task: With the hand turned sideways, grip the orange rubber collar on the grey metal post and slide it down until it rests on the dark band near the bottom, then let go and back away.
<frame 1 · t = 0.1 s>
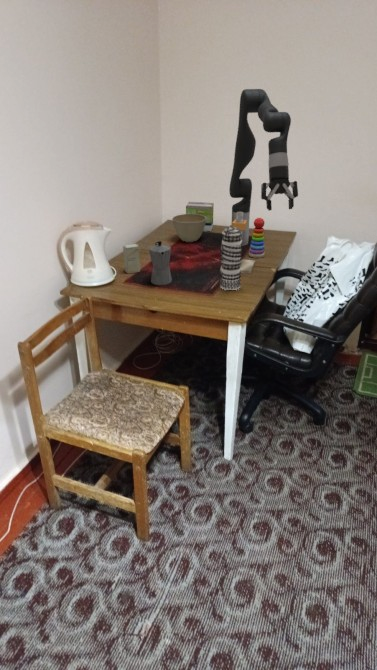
hand: (280, 209, 179), 31 cm above the table, tool tilted 20°, fingers open, 8 cm apart
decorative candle: (230, 287, 192), on the table
tea box: (199, 229, 269), on the table
skincare box: (132, 271, 210), on the table
coffeepot: (161, 280, 200), on the table
collar: (239, 224, 203), point 20 cm above the table, slide at 0.0 cm
beige bowl: (189, 240, 250), on the table
post stand: (237, 267, 212), on the table
stacking toy: (256, 256, 226), on the table
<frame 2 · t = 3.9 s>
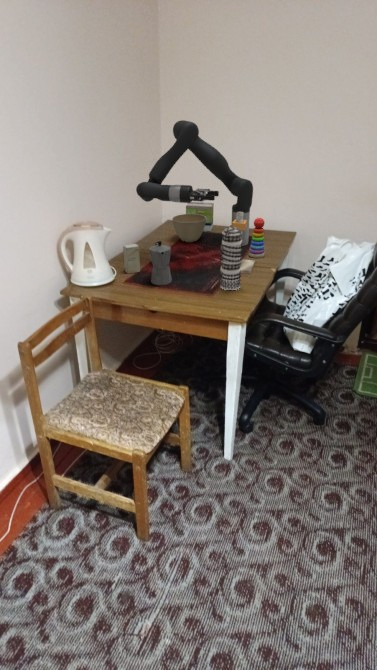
hand: (216, 195, 199), 32 cm above the table, tool horizontal, fingers open, 8 cm apart
nothing on the table moved.
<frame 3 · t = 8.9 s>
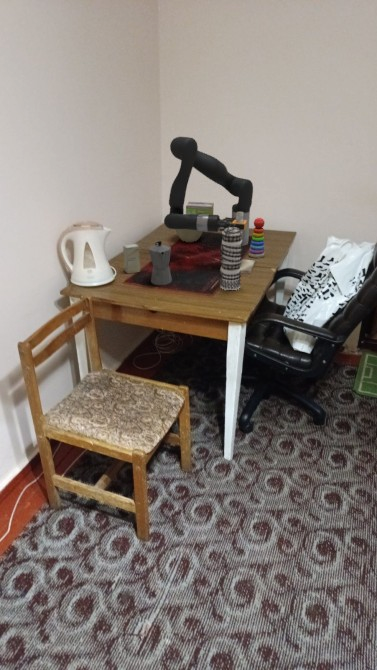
hand: (245, 225, 202), 20 cm above the table, tool horizontal, fingers closed on collar, 5 cm apart
collar: (239, 224, 203), point 20 cm above the table, slide at 0.0 cm, touching gripper
everything else where it was.
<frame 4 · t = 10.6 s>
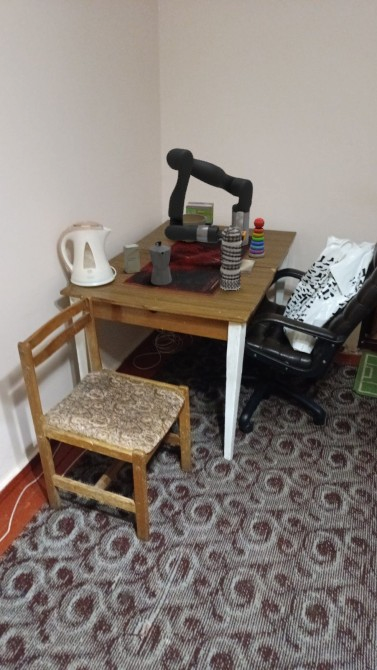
hand: (244, 236, 205), 15 cm above the table, tool horizontal, fingers closed on collar, 5 cm apart
collar: (239, 235, 205), point 15 cm above the table, slide at -5.0 cm, touching gripper
everything else where it was.
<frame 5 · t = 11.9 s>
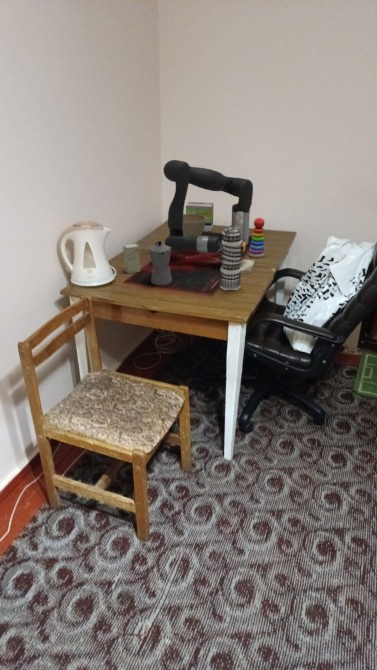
hand: (244, 246, 207), 10 cm above the table, tool horizontal, fingers closed on collar, 5 cm apart
collar: (238, 246, 208), point 10 cm above the table, slide at -10.0 cm, touching gripper
everything else where it was.
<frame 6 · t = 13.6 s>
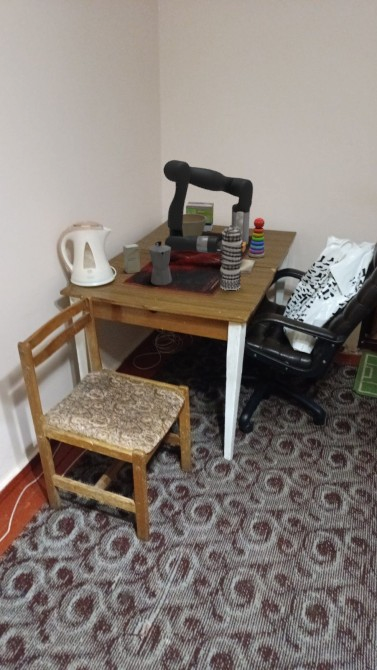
hand: (242, 246, 207), 10 cm above the table, tool horizontal, fingers open, 8 cm apart
collar: (238, 246, 208), point 10 cm above the table, slide at -10.0 cm
everything else where it was.
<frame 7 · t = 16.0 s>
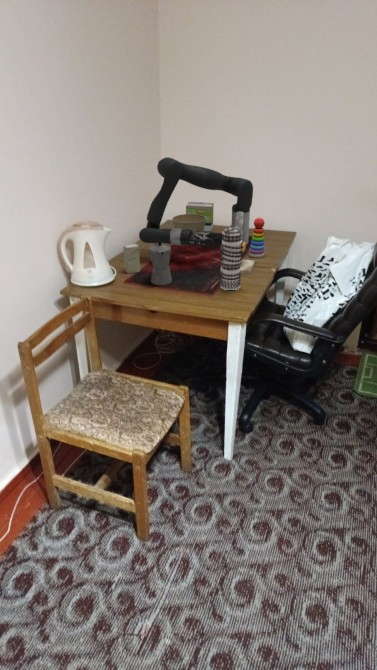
hand: (215, 239, 209), 13 cm above the table, tool horizontal, fingers open, 8 cm apart
nothing on the table moved.
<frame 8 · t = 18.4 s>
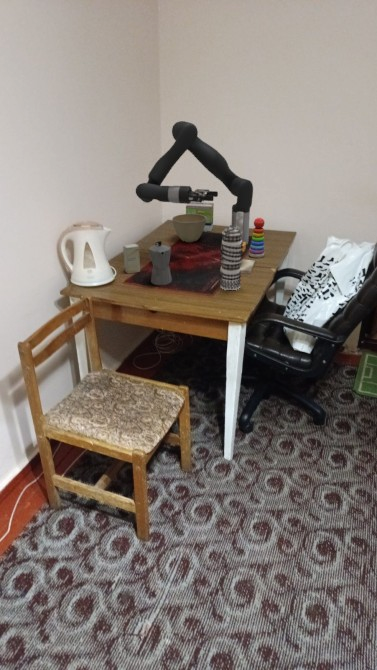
hand: (215, 196, 200), 32 cm above the table, tool horizontal, fingers open, 8 cm apart
nothing on the table moved.
at the end: collar slide at -10.0 cm; the gripper is holding nothing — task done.
